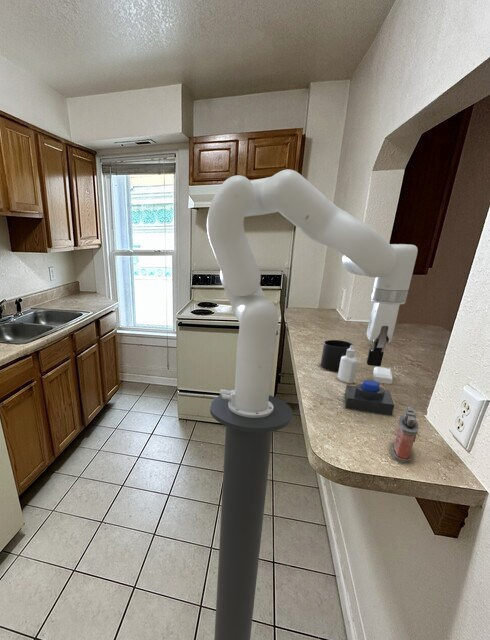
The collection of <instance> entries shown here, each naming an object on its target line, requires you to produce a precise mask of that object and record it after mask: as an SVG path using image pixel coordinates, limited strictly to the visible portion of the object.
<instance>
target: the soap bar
mask: <svg viewBox="0 0 490 640" xmlns="http://www.w3.org/2000/svg"><path fill="white" fill-rule="evenodd" d="M372 376H373V381H376V382H378V383H379V384H380V383H381V384H388V385H392V384H393V379H394V378H393V373H392V369H391V368H390V367H385V366H384V367H383V366H374V368H373V371H372Z"/></svg>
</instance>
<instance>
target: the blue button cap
mask: <svg viewBox="0 0 490 640" xmlns="http://www.w3.org/2000/svg"><path fill="white" fill-rule="evenodd" d="M361 384H362V389H364V390H367V391H372V392H377V391H378V390H379V386H380V383H379V382H376V381H374V380H373V379H364V380H363V381H362V383H361Z"/></svg>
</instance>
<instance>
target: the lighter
mask: <svg viewBox="0 0 490 640" xmlns="http://www.w3.org/2000/svg"><path fill="white" fill-rule="evenodd" d="M414 411H415V410H414V408H413V407H412V406H407V407H406V409H405V414H400V415H399V419H398V427H397V431H396V435H395V439H394V441H393V443H392V447H391V454H392V457H393V459H394V460H395V461H396V462H398V463H401V464H409V463H410V462H411V458H412V449H413V445H414V443H415V442H416V439H417V435H418V432H419V427H420V426H419V422H418V421H417V413H416V412H414Z"/></svg>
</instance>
